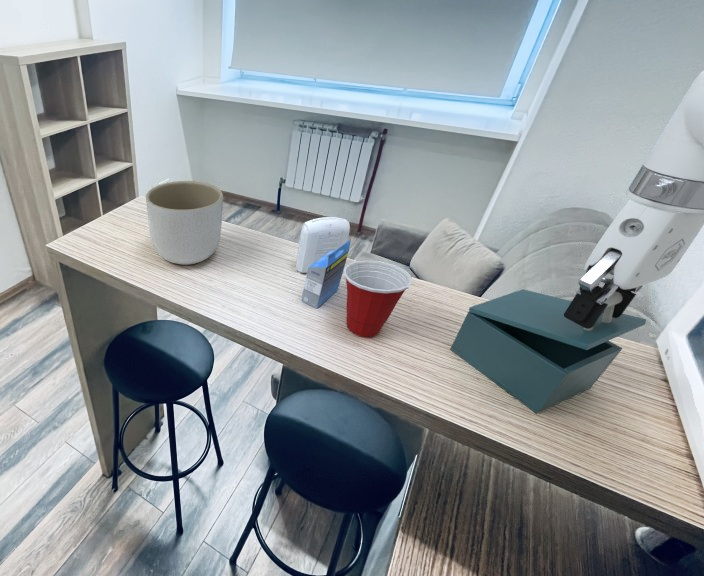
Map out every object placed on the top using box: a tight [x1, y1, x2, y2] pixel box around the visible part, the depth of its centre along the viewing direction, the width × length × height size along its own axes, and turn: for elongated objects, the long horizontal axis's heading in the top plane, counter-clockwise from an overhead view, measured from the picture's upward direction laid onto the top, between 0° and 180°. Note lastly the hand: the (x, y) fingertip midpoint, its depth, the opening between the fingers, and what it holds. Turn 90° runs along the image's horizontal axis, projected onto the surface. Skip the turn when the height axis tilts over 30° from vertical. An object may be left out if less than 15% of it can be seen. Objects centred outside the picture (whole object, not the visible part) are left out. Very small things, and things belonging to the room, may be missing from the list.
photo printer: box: [295, 216, 351, 274], centre depth 88 cm, size 10×4×12 cm, turn 98°
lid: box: [468, 288, 647, 350], centre depth 59 cm, size 15×13×5 cm
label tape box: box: [301, 238, 352, 309], centre depth 80 cm, size 9×4×12 cm, turn 136°
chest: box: [450, 311, 623, 414], centre depth 64 cm, size 15×13×8 cm
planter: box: [145, 180, 224, 266], centre depth 94 cm, size 17×17×15 cm
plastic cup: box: [343, 259, 413, 339], centre depth 72 cm, size 11×11×12 cm
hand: (591, 316), depth 55 cm, fingers closed on lid, 5 cm apart
